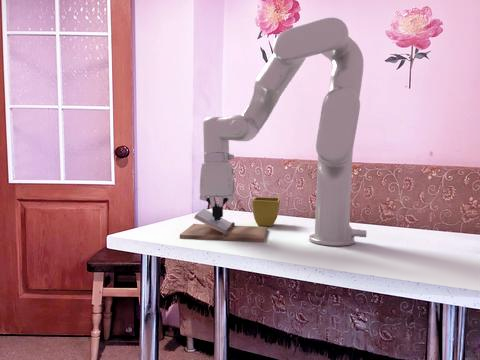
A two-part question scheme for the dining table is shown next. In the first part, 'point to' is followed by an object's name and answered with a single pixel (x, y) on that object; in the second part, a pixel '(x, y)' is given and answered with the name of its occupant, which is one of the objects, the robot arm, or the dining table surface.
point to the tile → (213, 221)
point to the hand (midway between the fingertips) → (217, 219)
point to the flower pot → (265, 210)
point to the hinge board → (226, 233)
